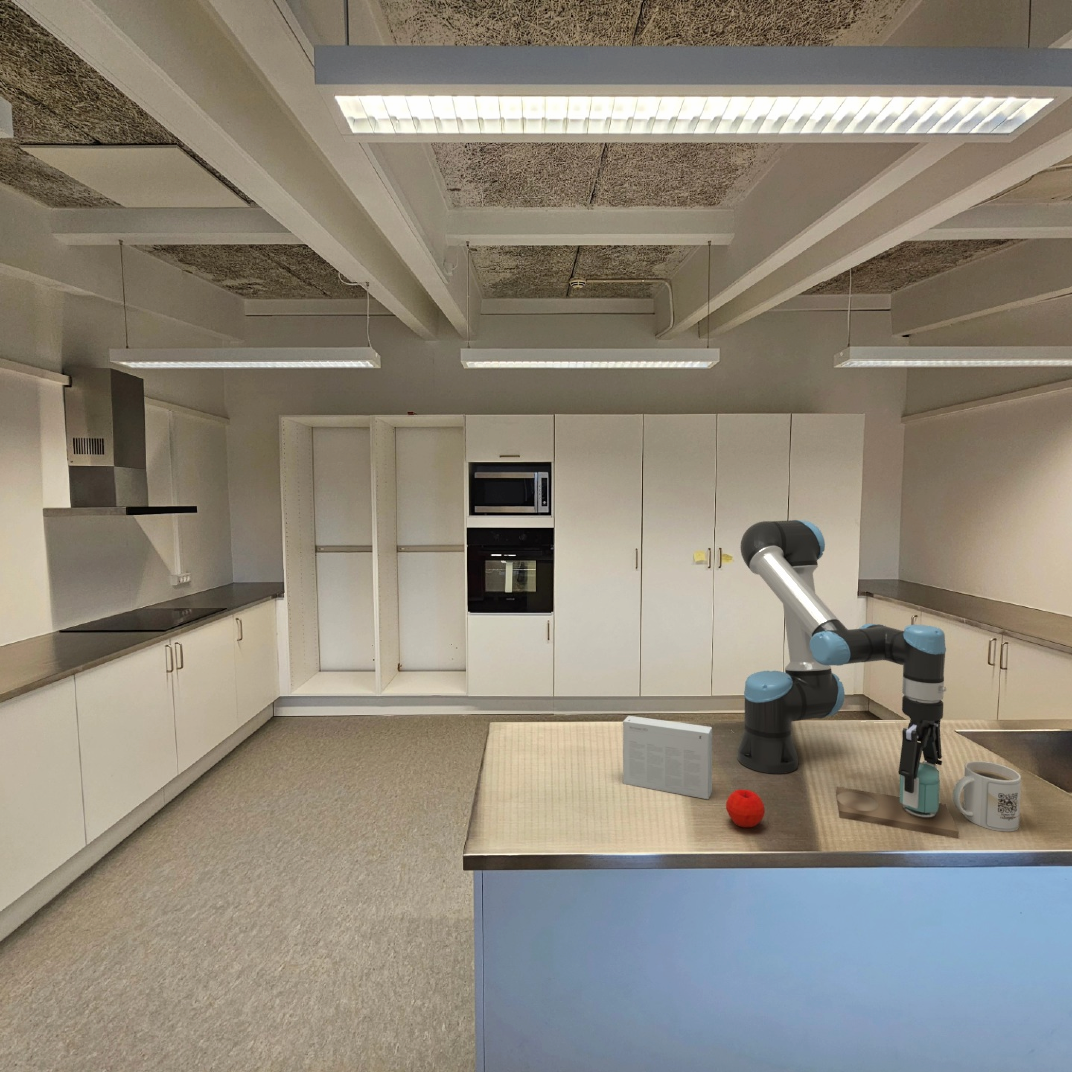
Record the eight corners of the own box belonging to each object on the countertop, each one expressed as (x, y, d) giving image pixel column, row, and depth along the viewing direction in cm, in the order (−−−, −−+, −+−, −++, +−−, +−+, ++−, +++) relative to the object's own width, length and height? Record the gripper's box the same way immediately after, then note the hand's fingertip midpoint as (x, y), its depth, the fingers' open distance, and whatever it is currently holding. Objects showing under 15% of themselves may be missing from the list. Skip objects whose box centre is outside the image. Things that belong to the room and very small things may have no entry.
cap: (903, 793, 138) (904, 758, 137) (940, 802, 133) (941, 767, 133) (897, 805, 132) (898, 769, 132) (936, 815, 128) (937, 779, 127)
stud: (905, 815, 131) (906, 780, 131) (901, 802, 137) (902, 769, 136) (938, 821, 129) (939, 785, 129) (932, 807, 135) (933, 773, 134)
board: (838, 817, 134) (838, 810, 134) (835, 792, 145) (835, 786, 145) (958, 838, 125) (958, 831, 125) (945, 810, 136) (945, 803, 136)
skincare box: (712, 790, 147) (713, 726, 146) (709, 800, 142) (709, 734, 141) (628, 774, 156) (628, 714, 155) (622, 783, 151) (621, 721, 150)
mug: (1022, 838, 125) (1024, 786, 124) (952, 822, 131) (953, 773, 131) (1015, 815, 134) (1017, 766, 133) (949, 801, 140) (951, 755, 139)
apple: (743, 838, 126) (743, 804, 126) (717, 820, 133) (717, 787, 133) (772, 829, 129) (773, 796, 129) (745, 812, 137) (746, 780, 136)
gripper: (921, 713, 122) (917, 822, 123) (961, 691, 135) (958, 790, 136) (881, 703, 128) (879, 807, 129) (924, 683, 141) (921, 778, 142)
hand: (919, 798), depth 133 cm, fingers open, 9 cm apart
